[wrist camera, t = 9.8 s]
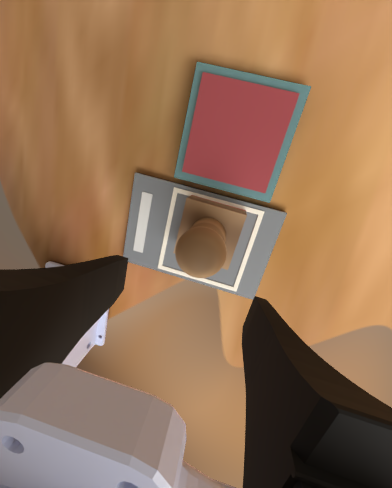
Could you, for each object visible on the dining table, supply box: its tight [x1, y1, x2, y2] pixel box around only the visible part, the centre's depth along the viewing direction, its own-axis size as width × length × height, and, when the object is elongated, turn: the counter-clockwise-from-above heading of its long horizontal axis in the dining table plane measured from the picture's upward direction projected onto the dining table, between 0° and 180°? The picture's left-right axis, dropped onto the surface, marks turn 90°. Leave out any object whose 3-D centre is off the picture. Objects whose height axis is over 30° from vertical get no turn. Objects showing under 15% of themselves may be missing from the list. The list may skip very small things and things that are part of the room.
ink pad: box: [174, 62, 311, 203], centre depth 18 cm, size 8×8×1 cm
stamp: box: [173, 195, 247, 278], centre depth 17 cm, size 5×5×8 cm
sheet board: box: [123, 173, 287, 300], centre depth 21 cm, size 9×14×1 cm, turn 76°
